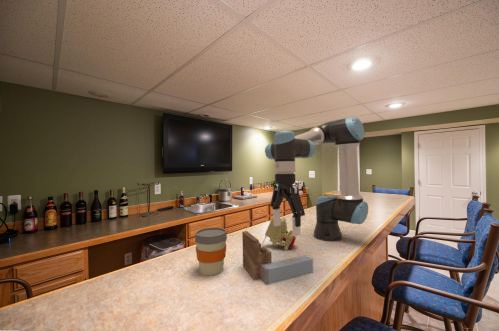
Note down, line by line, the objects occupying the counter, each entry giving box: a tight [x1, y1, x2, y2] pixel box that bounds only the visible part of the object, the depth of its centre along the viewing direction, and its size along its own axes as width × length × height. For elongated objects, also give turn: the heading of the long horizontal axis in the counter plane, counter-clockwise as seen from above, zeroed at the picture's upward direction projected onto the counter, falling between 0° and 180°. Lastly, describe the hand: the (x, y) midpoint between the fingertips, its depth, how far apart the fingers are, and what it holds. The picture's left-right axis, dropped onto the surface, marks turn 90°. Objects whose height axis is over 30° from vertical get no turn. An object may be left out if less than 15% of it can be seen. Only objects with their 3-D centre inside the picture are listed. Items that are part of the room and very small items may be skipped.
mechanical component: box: [261, 216, 297, 251], centre depth 105 cm, size 8×17×20 cm, turn 79°
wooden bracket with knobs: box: [241, 230, 273, 281], centre depth 82 cm, size 7×12×14 cm, turn 22°
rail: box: [260, 255, 314, 285], centre depth 78 cm, size 20×4×5 cm, turn 113°
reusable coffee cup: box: [194, 227, 228, 277], centre depth 83 cm, size 13×13×15 cm
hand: (286, 230), depth 78 cm, fingers open, 13 cm apart
